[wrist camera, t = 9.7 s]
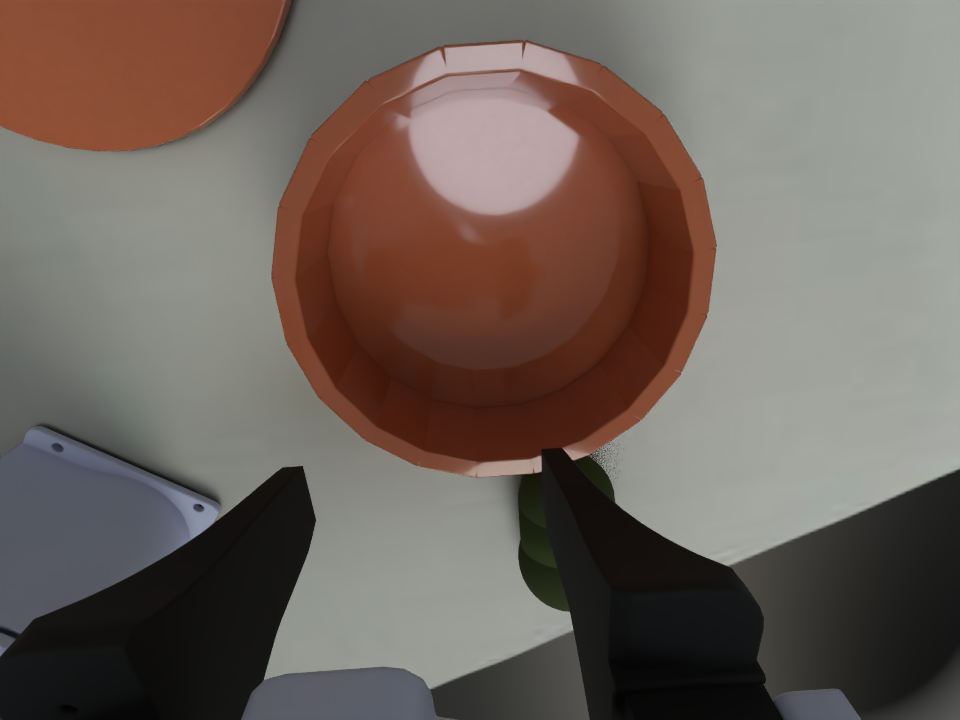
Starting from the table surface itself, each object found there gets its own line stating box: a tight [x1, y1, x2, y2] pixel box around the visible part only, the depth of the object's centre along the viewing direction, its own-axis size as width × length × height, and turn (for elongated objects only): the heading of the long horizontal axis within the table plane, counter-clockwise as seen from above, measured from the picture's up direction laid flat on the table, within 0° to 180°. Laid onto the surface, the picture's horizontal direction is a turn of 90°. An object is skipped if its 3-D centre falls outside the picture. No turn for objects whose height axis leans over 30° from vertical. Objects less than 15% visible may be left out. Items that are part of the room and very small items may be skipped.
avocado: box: [518, 456, 615, 612], centre depth 25 cm, size 8×5×5 cm, turn 5°
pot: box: [271, 40, 717, 477], centre depth 20 cm, size 15×15×5 cm
